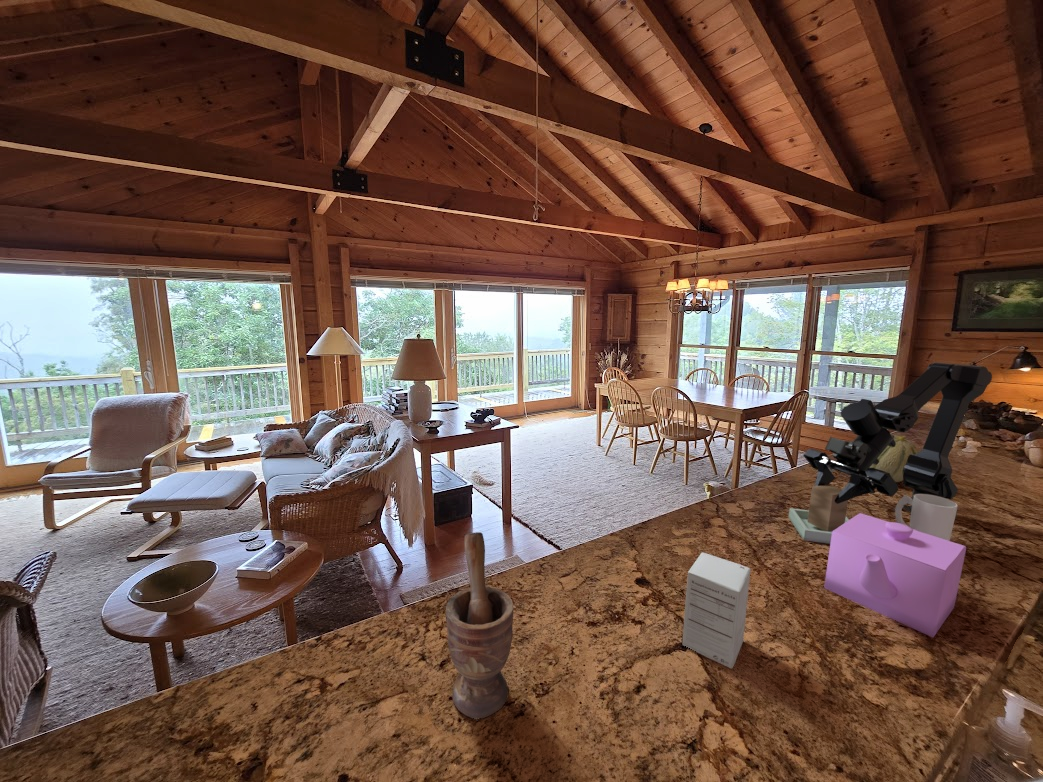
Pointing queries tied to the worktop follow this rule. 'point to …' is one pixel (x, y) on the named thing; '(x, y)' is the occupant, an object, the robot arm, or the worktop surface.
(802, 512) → the tray
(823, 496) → the walnut block
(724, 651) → the supplement box
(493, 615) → the mortar and pestle
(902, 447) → the cantaloupe
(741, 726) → the worktop surface
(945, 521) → the mug
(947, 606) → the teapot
